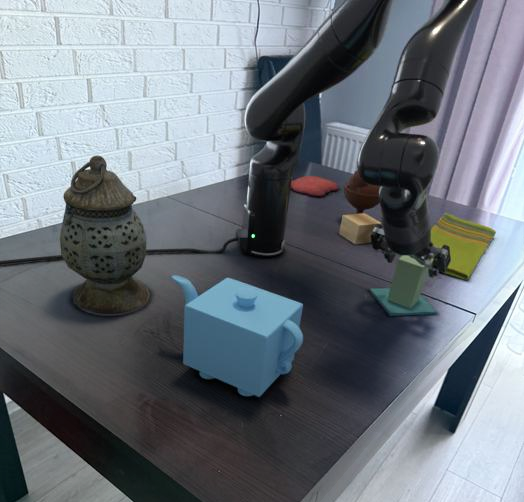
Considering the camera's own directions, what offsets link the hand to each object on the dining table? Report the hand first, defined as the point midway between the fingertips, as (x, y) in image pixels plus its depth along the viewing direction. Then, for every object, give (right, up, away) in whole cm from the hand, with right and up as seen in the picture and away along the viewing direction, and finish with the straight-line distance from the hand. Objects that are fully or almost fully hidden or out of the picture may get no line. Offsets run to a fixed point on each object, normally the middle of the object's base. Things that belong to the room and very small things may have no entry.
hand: (412, 265), depth 98 cm
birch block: (-4, +12, +32) cm, 35 cm away
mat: (-1, -7, +5) cm, 8 cm away
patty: (-13, +35, +64) cm, 74 cm away
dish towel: (+20, +10, +33) cm, 40 cm away
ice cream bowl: (-3, +18, +41) cm, 45 cm away
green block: (0, -6, +5) cm, 8 cm away
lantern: (-57, -7, -5) cm, 58 cm away
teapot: (-34, -19, -19) cm, 43 cm away
